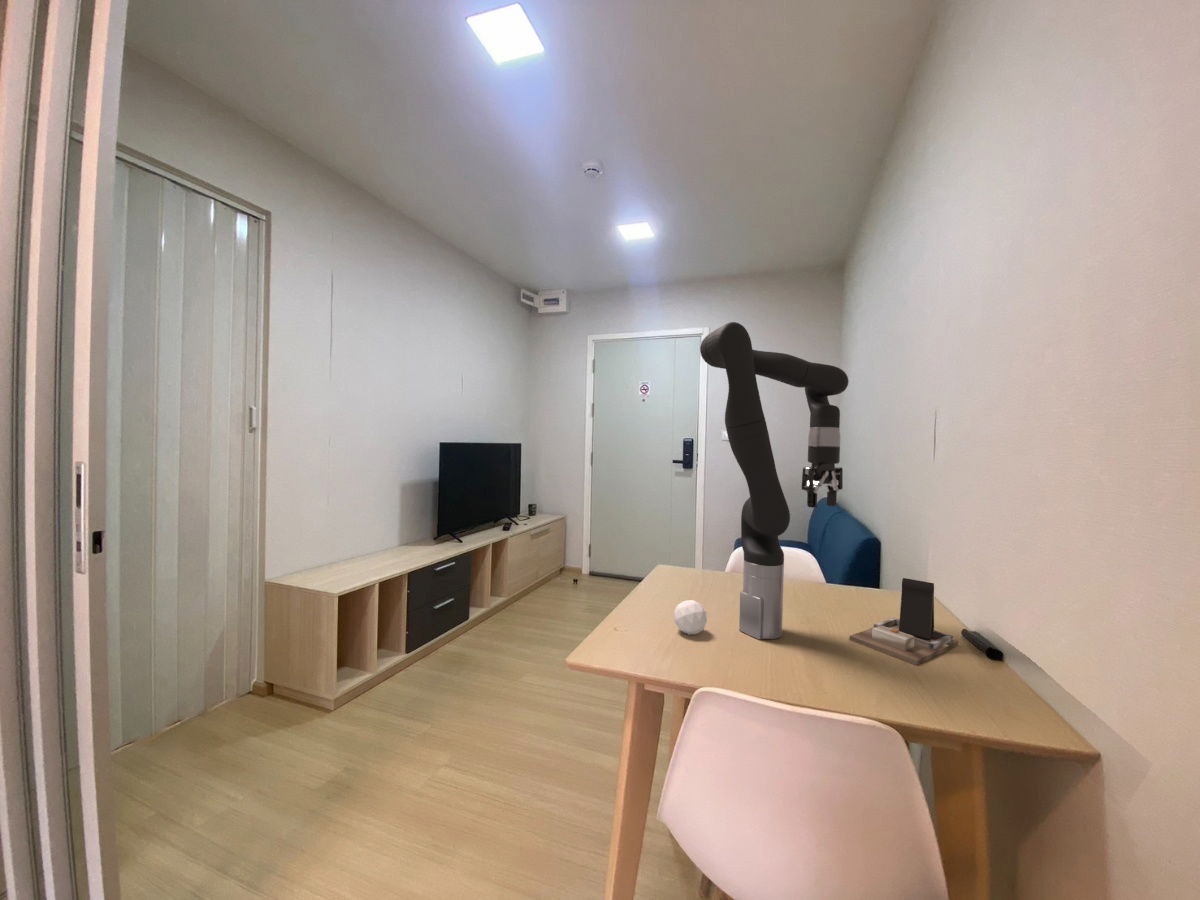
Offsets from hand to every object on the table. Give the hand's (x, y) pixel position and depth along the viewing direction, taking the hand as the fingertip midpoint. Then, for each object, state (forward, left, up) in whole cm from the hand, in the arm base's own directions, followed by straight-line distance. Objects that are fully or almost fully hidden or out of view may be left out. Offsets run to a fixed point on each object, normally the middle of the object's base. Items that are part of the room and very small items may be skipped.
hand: (821, 506), depth 117 cm
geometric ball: (-36, +10, -30) cm, 48 cm away
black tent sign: (+9, -19, -28) cm, 35 cm away
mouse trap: (+5, -18, -30) cm, 35 cm away
